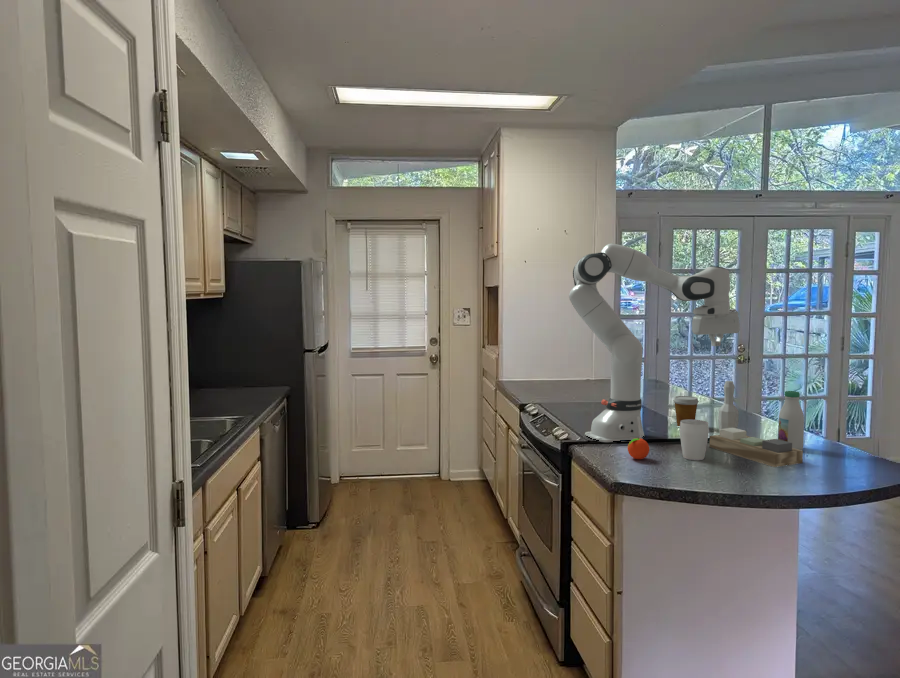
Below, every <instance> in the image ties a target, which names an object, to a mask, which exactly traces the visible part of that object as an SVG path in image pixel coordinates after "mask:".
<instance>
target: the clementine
mask: <svg viewBox="0 0 900 678" xmlns="http://www.w3.org/2000/svg"><path fill="white" fill-rule="evenodd" d="M628 442H629V443H628V444H627V452H628V455H630V457H631V458H632V459H635V460H644V459H645V458H647V456H648V455H649V454H650V446H649V445H650V444H649V443H648V442H647V441H646V440H645V439H643V438H642V439H641V438H635V439H633V440H631V441H628Z"/></svg>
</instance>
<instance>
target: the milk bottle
mask: <svg viewBox="0 0 900 678" xmlns="http://www.w3.org/2000/svg"><path fill="white" fill-rule="evenodd" d="M800 393H801V392H799V391H796V390H786V391H784V398H785V399H784V402H783V405H782V406H781V408H780V411H779V414H778V428H777V429H778V430H777V431H778V434H777V439H779V440H783V441H787V442H791V443H792V448H795V449H798V450H802V451H803V449H804V435H805V434H804V433H805V432H804V431H805V425H804V424H805V416H804V415H805V414H804V412H803V409H802V407H801V404H800V396H801V394H800Z"/></svg>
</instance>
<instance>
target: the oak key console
mask: <svg viewBox="0 0 900 678" xmlns="http://www.w3.org/2000/svg"><path fill="white" fill-rule="evenodd" d="M749 437H751V436H748V435H746V438H749ZM709 448H711V449H715V450H717V451H720V452H724V453H727V454H730V455H733V456H737V457H740V458H743V459H747V460H750V461H753V462H756V463H759V464H762V465H765V464H766V466H768V467H769V466H770V467H773V468H778V467H779V466H780V467H786V465H787V466H792V465H798V464H803V462H804V461H803V460H804V459H803V458H804V457H803V456H804V455H803V454H804V450H803V449H802V450H798V449H795V448H792V451H788V452H781V453H777V452H773V451H770V450H766V449H762V445H761V446H752V445H748V444H745V443H741V442H740V439H739V440H731V439H727V438H723V437H720V434H716V435H709ZM780 467H779V468H780Z"/></svg>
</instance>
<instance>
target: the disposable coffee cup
mask: <svg viewBox="0 0 900 678" xmlns="http://www.w3.org/2000/svg"><path fill="white" fill-rule="evenodd" d="M672 401H673V403H674V410H675V417H676V419H675V421H676V427H677V426H680V421H681V420H686V419H693V420H696V416H697V411H698V410H697V409H698V405H699V398H698V397H696V396H690V395H677V396H674V399H673V400H672Z"/></svg>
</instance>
